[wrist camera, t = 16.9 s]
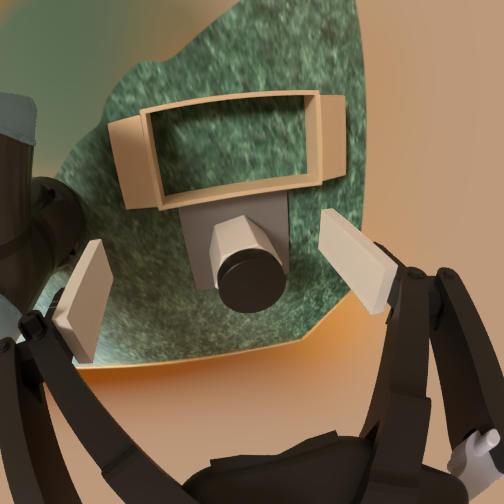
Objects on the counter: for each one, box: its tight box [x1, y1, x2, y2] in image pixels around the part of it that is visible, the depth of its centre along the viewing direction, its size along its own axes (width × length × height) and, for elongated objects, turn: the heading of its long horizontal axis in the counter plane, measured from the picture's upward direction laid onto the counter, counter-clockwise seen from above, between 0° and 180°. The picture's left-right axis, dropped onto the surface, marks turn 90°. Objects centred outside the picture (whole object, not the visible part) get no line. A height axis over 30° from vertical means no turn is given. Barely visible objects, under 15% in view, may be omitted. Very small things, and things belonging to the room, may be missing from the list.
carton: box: [107, 90, 346, 211], centre depth 34 cm, size 32×13×4 cm, turn 95°
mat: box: [177, 189, 289, 292], centre depth 44 cm, size 16×16×1 cm
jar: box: [209, 215, 286, 313], centre depth 38 cm, size 9×8×12 cm
